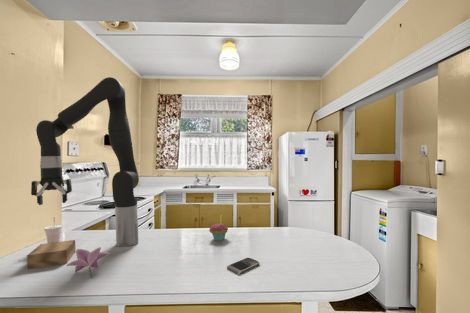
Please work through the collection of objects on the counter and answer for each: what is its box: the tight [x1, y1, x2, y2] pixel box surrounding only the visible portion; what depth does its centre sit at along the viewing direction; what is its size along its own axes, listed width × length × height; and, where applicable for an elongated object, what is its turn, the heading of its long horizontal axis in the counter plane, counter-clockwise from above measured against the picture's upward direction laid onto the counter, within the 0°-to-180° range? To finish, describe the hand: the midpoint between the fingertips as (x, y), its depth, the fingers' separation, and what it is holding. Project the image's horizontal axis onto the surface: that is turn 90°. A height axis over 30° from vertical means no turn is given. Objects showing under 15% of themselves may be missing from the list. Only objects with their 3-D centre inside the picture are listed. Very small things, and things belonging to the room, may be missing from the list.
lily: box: [65, 246, 112, 279], centre depth 83 cm, size 12×12×10 cm
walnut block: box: [26, 239, 77, 270], centre depth 96 cm, size 12×12×5 cm
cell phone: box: [226, 257, 261, 275], centre depth 85 cm, size 6×11×1 cm, turn 132°
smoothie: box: [43, 216, 63, 243], centre depth 107 cm, size 6×6×14 cm
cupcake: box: [208, 214, 229, 242], centre depth 114 cm, size 9×8×12 cm
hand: (52, 203), depth 107 cm, fingers open, 8 cm apart
